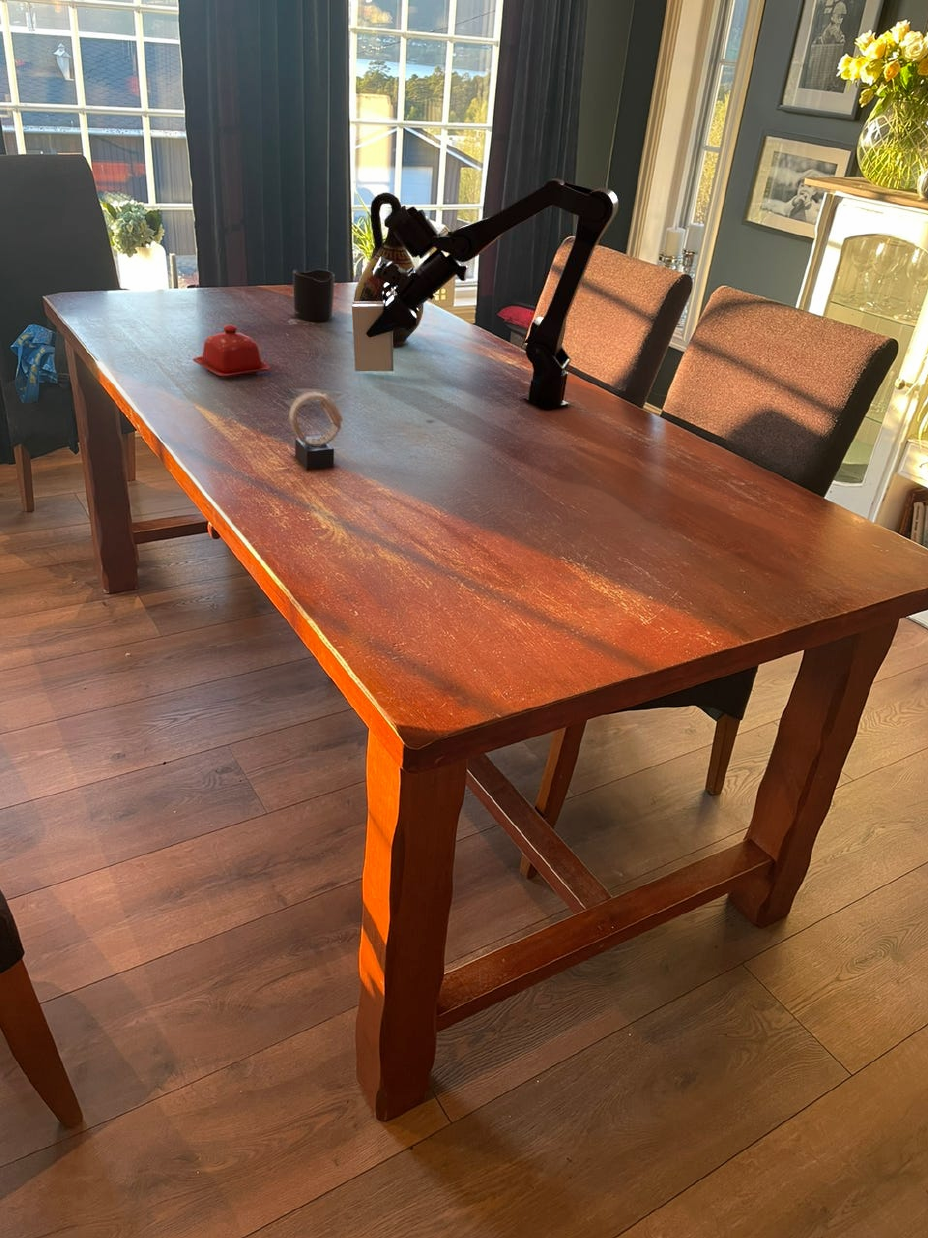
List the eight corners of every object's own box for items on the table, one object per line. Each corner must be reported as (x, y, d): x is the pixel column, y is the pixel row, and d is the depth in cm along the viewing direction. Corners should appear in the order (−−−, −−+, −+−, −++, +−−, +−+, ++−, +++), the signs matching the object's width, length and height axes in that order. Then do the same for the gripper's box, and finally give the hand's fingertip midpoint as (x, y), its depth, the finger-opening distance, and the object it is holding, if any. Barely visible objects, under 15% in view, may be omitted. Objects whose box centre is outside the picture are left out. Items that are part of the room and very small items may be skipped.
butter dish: (219, 382, 174) (218, 336, 169) (189, 364, 181) (187, 319, 176) (273, 374, 181) (273, 330, 176) (242, 358, 188) (242, 314, 183)
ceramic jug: (434, 342, 212) (447, 199, 196) (394, 355, 200) (404, 203, 185) (374, 325, 219) (381, 186, 203) (332, 336, 207) (336, 189, 192)
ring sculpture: (345, 466, 146) (348, 398, 141) (295, 471, 143) (296, 401, 137) (332, 453, 150) (334, 386, 145) (284, 457, 147) (284, 388, 141)
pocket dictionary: (393, 365, 187) (391, 301, 180) (393, 371, 184) (391, 306, 177) (355, 365, 187) (352, 301, 180) (355, 371, 184) (351, 306, 177)
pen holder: (299, 309, 224) (299, 266, 219) (337, 315, 223) (339, 271, 218) (287, 319, 216) (287, 273, 211) (327, 324, 215) (328, 279, 210)
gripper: (398, 234, 181) (339, 289, 186) (402, 253, 166) (337, 312, 170) (435, 280, 186) (377, 331, 191) (442, 302, 171) (378, 358, 175)
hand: (367, 332), depth 181 cm, fingers closed on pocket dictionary, 3 cm apart
